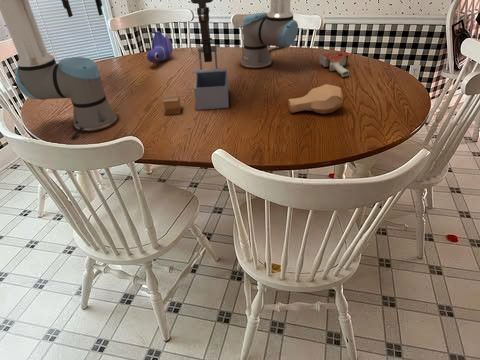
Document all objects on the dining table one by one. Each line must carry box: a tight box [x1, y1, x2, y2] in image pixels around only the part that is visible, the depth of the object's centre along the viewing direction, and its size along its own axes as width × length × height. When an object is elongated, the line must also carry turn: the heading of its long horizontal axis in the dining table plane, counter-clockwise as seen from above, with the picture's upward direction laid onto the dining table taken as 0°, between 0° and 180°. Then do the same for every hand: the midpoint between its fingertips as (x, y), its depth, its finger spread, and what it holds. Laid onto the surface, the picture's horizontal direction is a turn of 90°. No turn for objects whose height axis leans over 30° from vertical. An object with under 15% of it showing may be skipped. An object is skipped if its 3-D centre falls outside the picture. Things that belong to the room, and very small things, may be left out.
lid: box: [191, 45, 228, 74], centre depth 136 cm, size 18×12×9 cm
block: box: [162, 94, 182, 116], centre depth 136 cm, size 6×6×6 cm
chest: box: [193, 71, 230, 111], centre depth 142 cm, size 17×12×9 cm
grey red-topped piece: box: [318, 51, 350, 78], centre depth 164 cm, size 18×5×20 cm
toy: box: [145, 30, 174, 68], centre depth 184 cm, size 10×17×25 cm
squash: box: [287, 83, 344, 115], centre depth 129 cm, size 11×20×9 cm, turn 92°
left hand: (85, 15), depth 157 cm, fingers open, 13 cm apart
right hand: (208, 60), depth 131 cm, fingers closed on lid, 2 cm apart
